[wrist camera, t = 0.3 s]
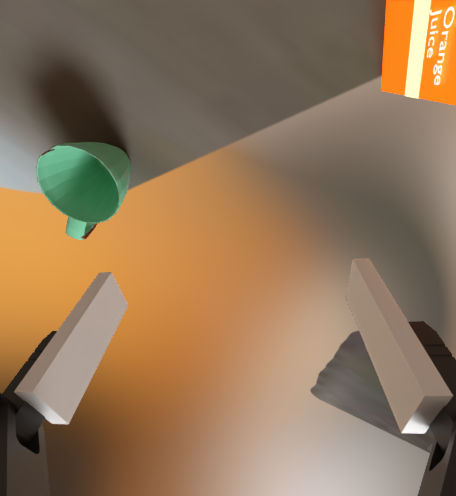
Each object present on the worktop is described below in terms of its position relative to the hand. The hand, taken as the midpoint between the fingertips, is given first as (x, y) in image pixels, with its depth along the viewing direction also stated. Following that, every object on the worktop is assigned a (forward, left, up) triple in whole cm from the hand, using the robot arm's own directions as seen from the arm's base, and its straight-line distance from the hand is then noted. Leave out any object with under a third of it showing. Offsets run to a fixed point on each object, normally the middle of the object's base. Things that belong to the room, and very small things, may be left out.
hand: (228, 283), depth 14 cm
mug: (+2, -20, -28) cm, 34 cm away
